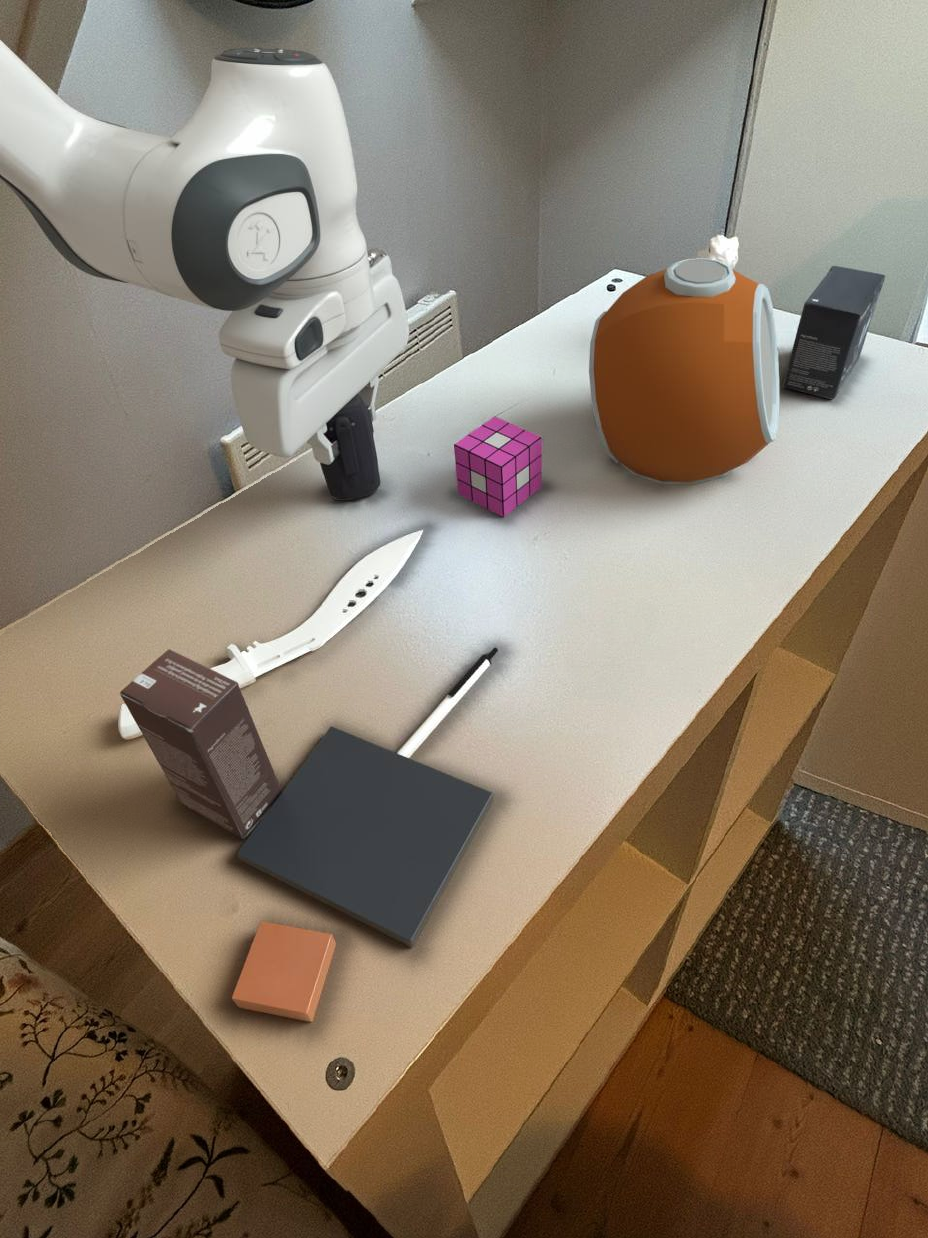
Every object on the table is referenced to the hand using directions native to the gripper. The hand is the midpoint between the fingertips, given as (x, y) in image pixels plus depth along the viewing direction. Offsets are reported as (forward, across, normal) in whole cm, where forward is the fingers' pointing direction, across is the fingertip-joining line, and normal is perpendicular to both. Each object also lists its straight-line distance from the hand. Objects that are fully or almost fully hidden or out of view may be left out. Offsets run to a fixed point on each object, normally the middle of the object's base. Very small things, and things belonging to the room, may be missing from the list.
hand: (346, 440), depth 74 cm
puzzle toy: (+6, -6, +12) cm, 15 cm away
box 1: (+6, +32, +10) cm, 34 cm away
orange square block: (+6, +40, +21) cm, 45 cm away
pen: (+6, +22, +20) cm, 30 cm away
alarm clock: (+6, -19, +26) cm, 32 cm away
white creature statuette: (+6, -39, +22) cm, 45 cm away
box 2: (+6, -37, +36) cm, 51 cm away
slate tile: (+6, +30, +20) cm, 36 cm away
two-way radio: (+6, 0, 0) cm, 6 cm away
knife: (+6, +17, +4) cm, 19 cm away
